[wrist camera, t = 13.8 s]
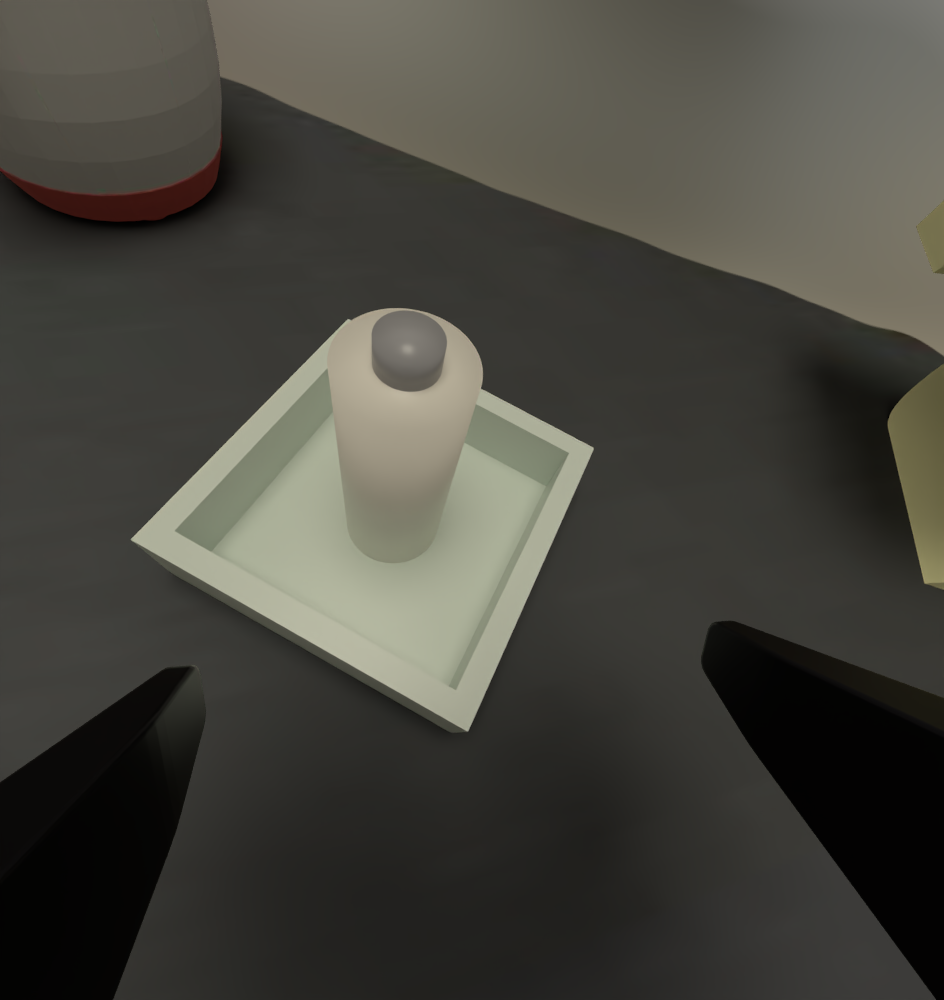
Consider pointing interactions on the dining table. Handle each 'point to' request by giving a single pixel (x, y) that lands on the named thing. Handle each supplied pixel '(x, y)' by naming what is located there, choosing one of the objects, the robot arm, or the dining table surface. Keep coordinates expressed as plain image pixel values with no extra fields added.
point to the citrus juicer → (110, 105)
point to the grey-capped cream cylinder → (400, 424)
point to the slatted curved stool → (924, 438)
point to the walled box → (358, 578)
